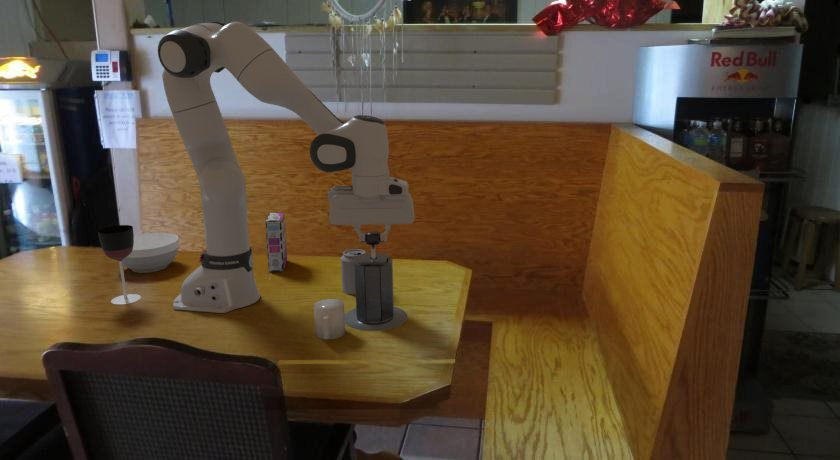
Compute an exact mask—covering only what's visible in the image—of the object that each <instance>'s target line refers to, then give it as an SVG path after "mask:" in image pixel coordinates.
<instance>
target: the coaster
mask: <svg viewBox="0 0 840 460" xmlns="http://www.w3.org/2000/svg"><path fill="white" fill-rule="evenodd" d="M344 316H345V326H348V327H350V328H351V329H355V330H360V331H366V332H367V331H368V332H375V331H376V332H379V331H386V330H390V329H394V328H398V327H400V326H401V325H403V324H404V323H405V322H406V321H407V319H408V314H407V312H406V311H404V310H403V309H401V308H400V307H398V306H394V318H393V319H392V320H391V321H390V322H387V323H384V324H379V325H369V324H364V323H361V322H359V321H358V320H357V312H356V307H355V308H353V309H351V310H349V311H347V312H345V313H344Z"/></svg>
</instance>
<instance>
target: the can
mask: <svg viewBox="0 0 840 460" xmlns="http://www.w3.org/2000/svg"><path fill="white" fill-rule="evenodd" d="M342 254H343V255H342V256H341V257H340V266H341V267H340V270H341V287H342V288H341V289H342V292H343V293H345V294H346V295H355V296H356V288H355V261H356V259H357V258H360V257H361V254H367V253H366V251H365V250H363V249H359V248H352V249H347V250H343V252H342Z"/></svg>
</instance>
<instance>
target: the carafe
mask: <svg viewBox="0 0 840 460" xmlns="http://www.w3.org/2000/svg"><path fill="white" fill-rule="evenodd" d="M393 261H394V260H393V258H392V257H389V253H376V259H372V256H371V253H365V254H361V257H360V258H357V259H356V261H355V288H356V295H355V308H356V312H357V320H358V321H359V322H361V323H364V324H369V325H379V324H384V323H387V322H390V321H391V320H392V319H393V318H394V307H395V306H394V305H395V303H394V273H393V271H394V270H393V269H394V267H393V266H394V265H393V264H394V263H393ZM372 265H376V266H372Z"/></svg>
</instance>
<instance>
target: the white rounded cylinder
mask: <svg viewBox="0 0 840 460" xmlns="http://www.w3.org/2000/svg"><path fill="white" fill-rule="evenodd" d="M344 315H345V302H344V301H342V300H340V299H335V298H326V299H321V300H318V301H316V302H315V303H313V316H314V317H313V318H314V319H313V320H314V334H315V336H316V337H317V338H318V339H320V340H335V339H340V338H341V337H343V336H344V335H346V334H345V333H346V324H345V316H344Z"/></svg>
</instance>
